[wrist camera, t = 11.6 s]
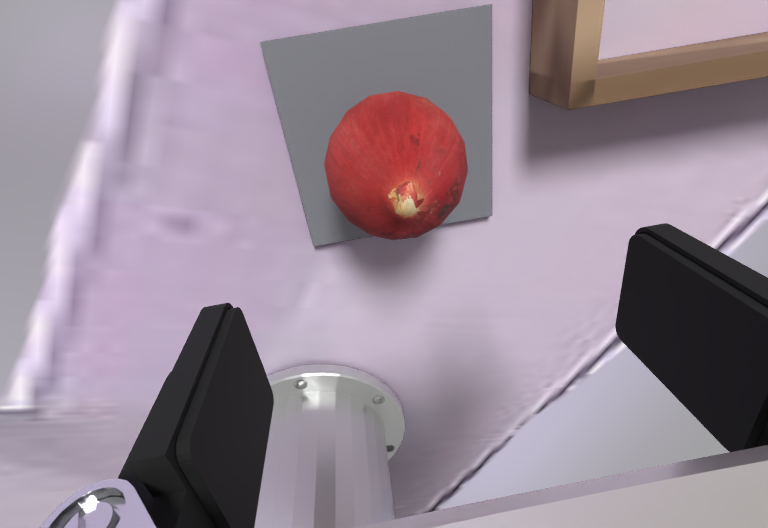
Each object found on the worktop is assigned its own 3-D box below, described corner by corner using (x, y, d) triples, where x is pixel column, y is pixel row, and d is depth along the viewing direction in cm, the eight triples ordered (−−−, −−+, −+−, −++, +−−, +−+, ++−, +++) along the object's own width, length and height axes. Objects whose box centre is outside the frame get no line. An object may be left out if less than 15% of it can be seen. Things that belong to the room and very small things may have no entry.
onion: (468, 130, 20) (535, 189, 14) (398, 219, 22) (425, 308, 16) (373, 51, 18) (395, 74, 11) (304, 158, 20) (288, 231, 13)
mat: (489, 212, 23) (492, 215, 23) (314, 242, 23) (313, 246, 23) (488, 4, 18) (491, 4, 18) (261, 41, 18) (260, 42, 18)
